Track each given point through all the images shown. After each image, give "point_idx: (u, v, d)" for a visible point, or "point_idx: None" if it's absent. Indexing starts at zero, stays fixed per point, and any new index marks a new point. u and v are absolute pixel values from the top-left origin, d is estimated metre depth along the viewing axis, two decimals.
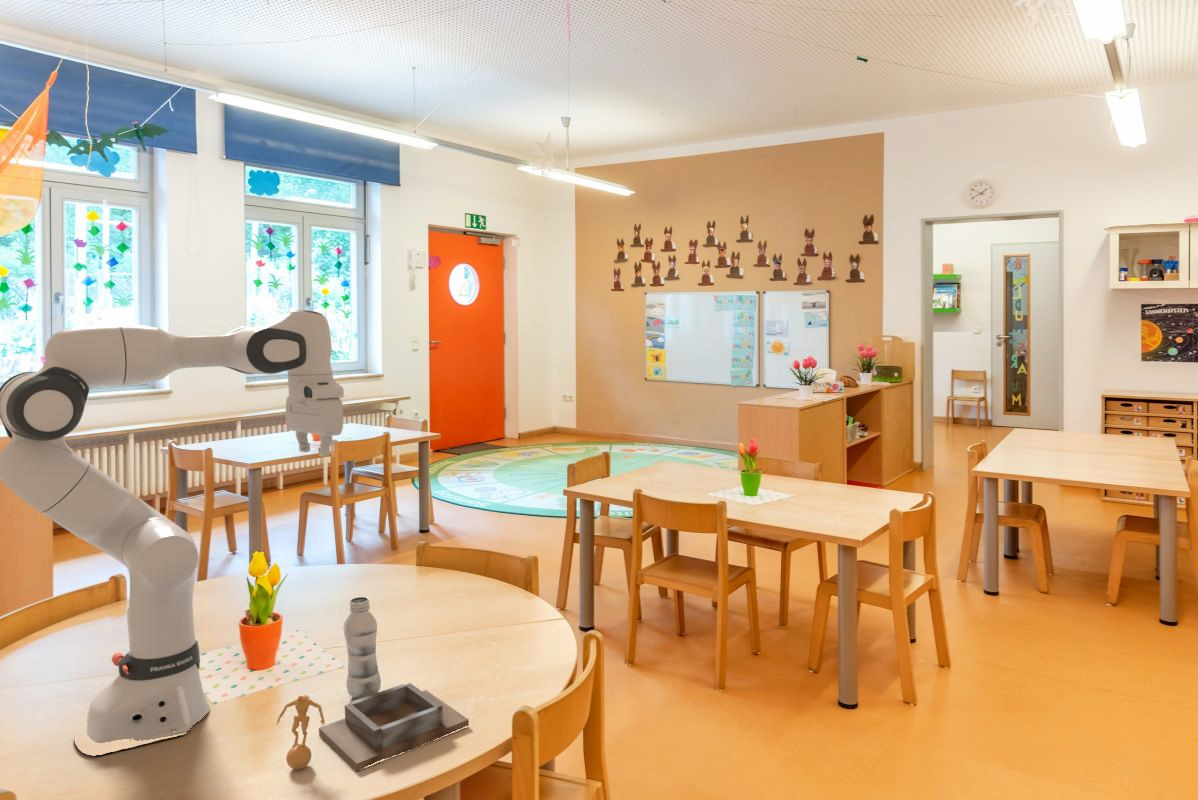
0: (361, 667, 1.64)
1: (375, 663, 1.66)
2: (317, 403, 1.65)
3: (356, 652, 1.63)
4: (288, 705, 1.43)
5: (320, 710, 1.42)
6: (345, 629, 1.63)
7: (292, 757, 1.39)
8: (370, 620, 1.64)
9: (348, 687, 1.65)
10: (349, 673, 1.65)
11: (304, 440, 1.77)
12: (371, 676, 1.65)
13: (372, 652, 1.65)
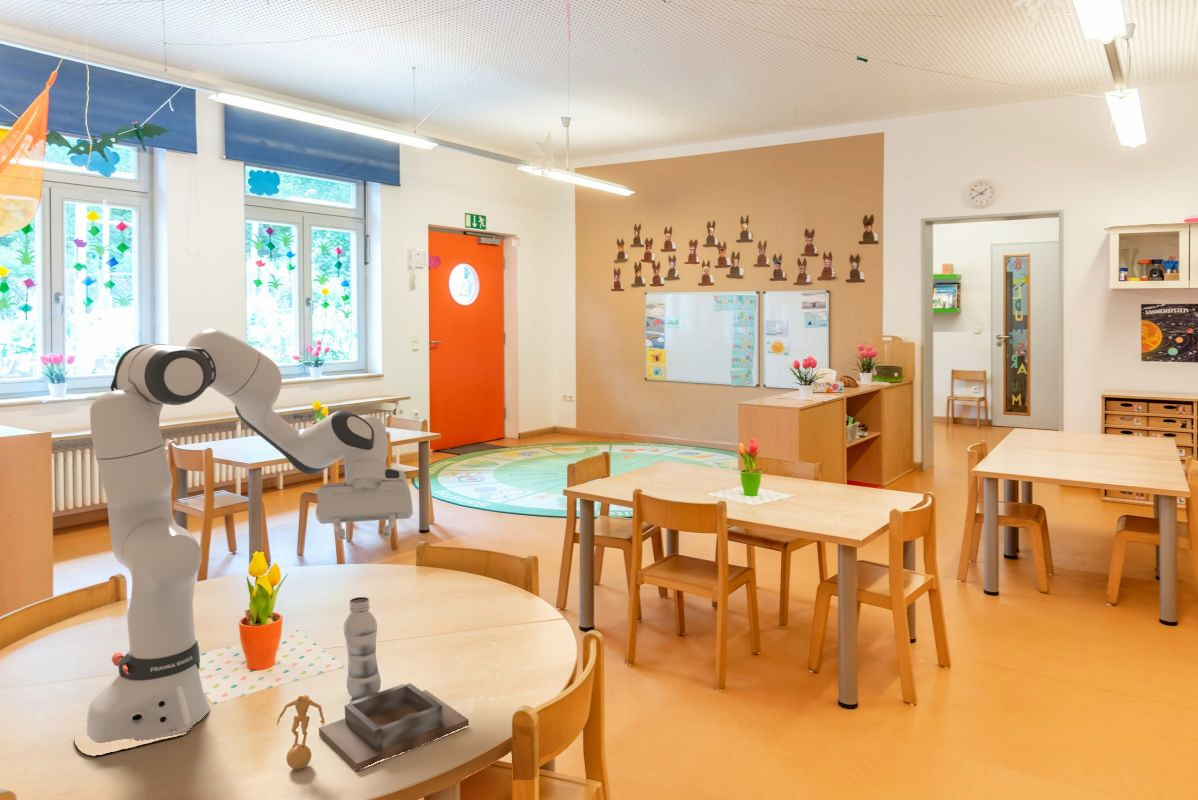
0: (361, 667, 1.64)
1: (375, 663, 1.66)
2: (403, 483, 1.82)
3: (356, 652, 1.63)
4: (288, 705, 1.43)
5: (320, 710, 1.42)
6: (345, 629, 1.63)
7: (292, 757, 1.39)
8: (370, 620, 1.64)
9: (348, 687, 1.65)
10: (349, 673, 1.65)
11: None
12: (371, 676, 1.65)
13: (372, 652, 1.65)
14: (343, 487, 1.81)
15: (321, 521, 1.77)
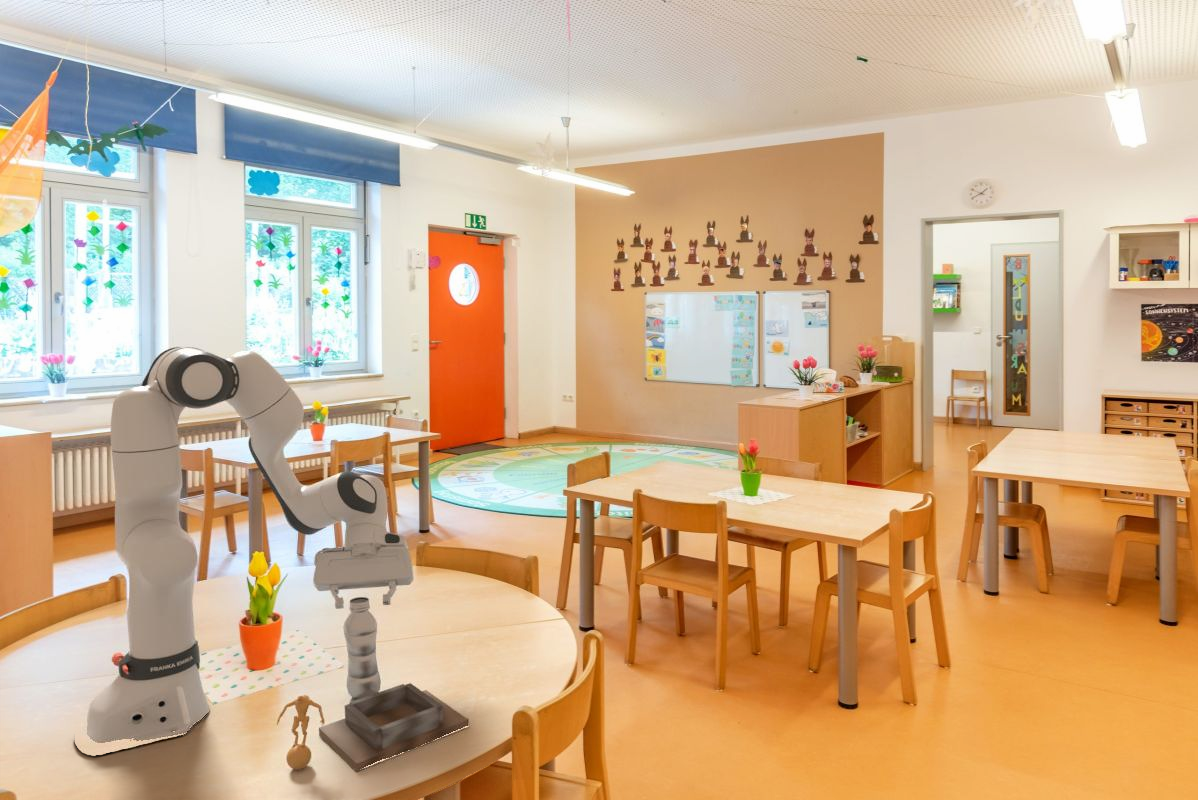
0: (361, 667, 1.64)
1: (375, 663, 1.66)
2: (404, 548, 1.77)
3: (356, 652, 1.63)
4: (288, 705, 1.43)
5: (320, 710, 1.42)
6: (345, 629, 1.63)
7: (292, 757, 1.39)
8: (370, 620, 1.64)
9: (348, 687, 1.65)
10: (349, 673, 1.65)
11: None
12: (371, 676, 1.65)
13: (372, 652, 1.65)
14: (342, 552, 1.75)
15: (319, 589, 1.72)
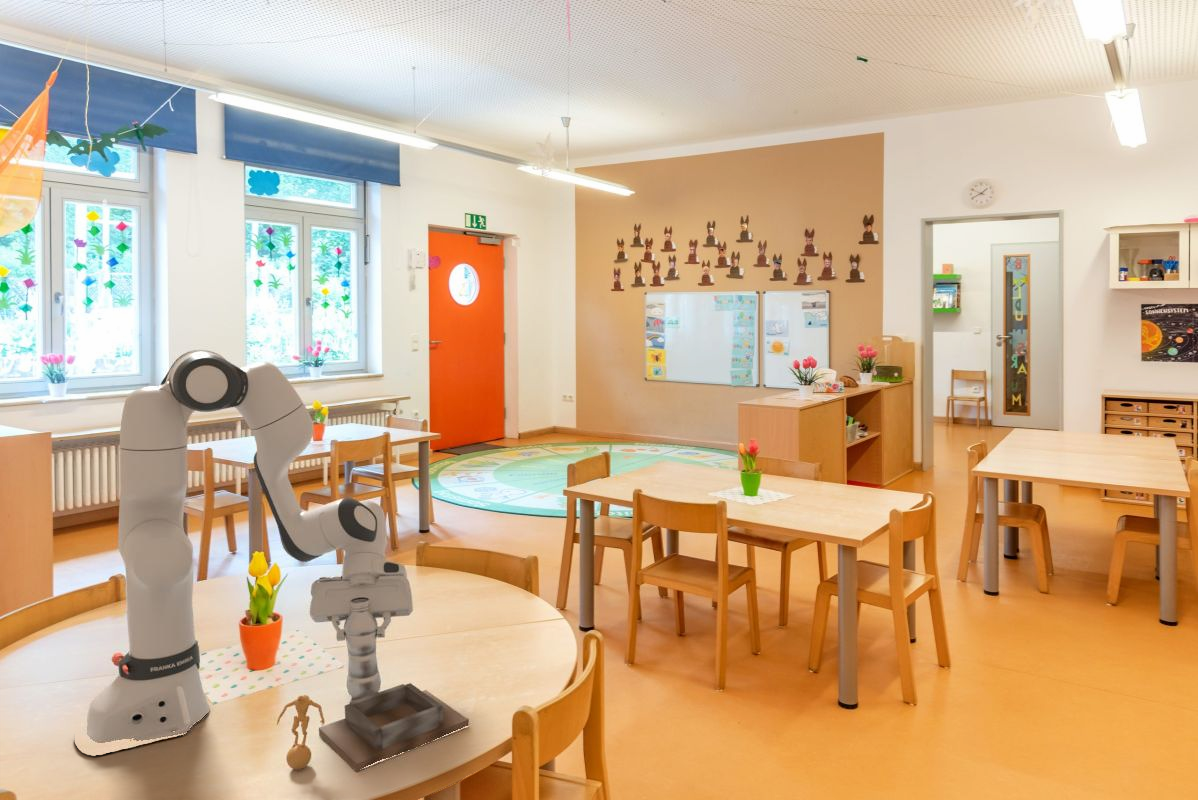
0: (361, 667, 1.64)
1: (375, 663, 1.66)
2: (403, 577, 1.71)
3: (356, 652, 1.63)
4: (288, 705, 1.43)
5: (320, 710, 1.42)
6: (345, 629, 1.63)
7: (292, 757, 1.39)
8: (370, 620, 1.64)
9: (348, 687, 1.65)
10: (349, 673, 1.65)
11: None
12: (371, 676, 1.65)
13: (372, 652, 1.65)
14: (339, 582, 1.70)
15: (315, 620, 1.67)
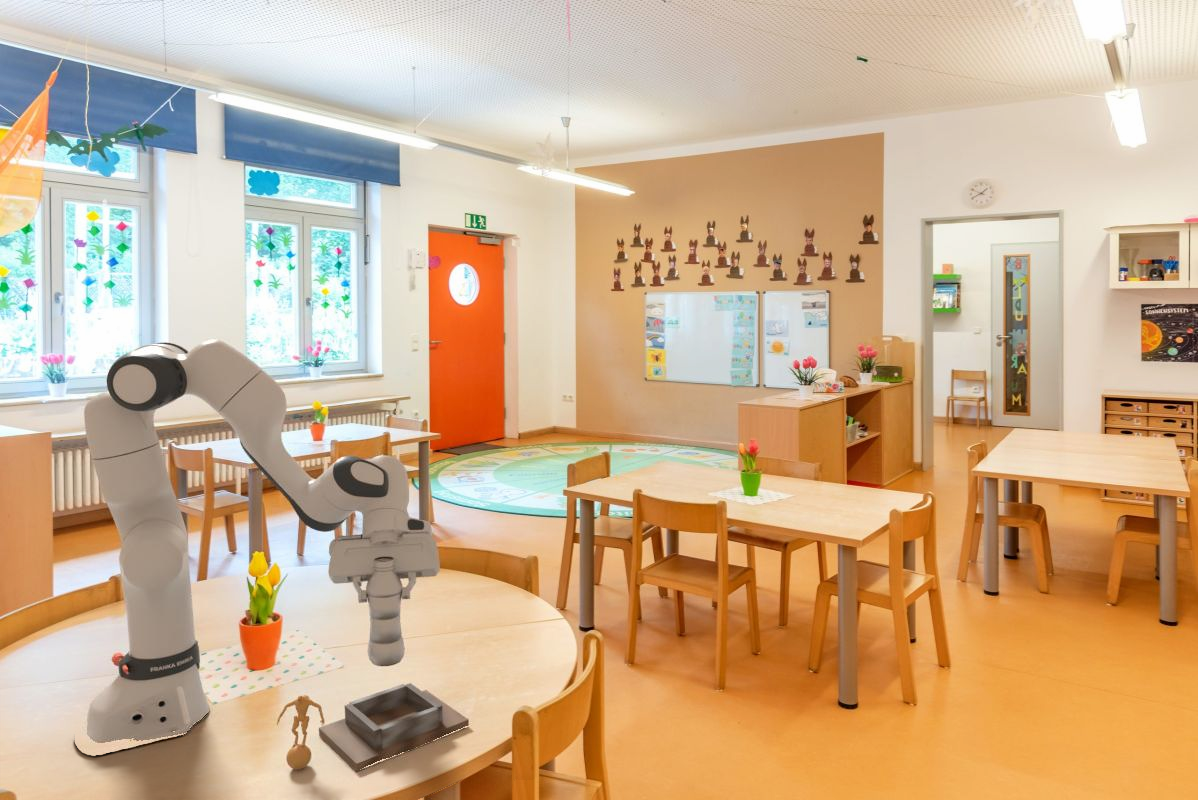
0: (384, 632, 1.51)
1: (399, 628, 1.53)
2: (429, 535, 1.58)
3: (379, 615, 1.50)
4: (288, 705, 1.43)
5: (320, 710, 1.42)
6: (368, 590, 1.50)
7: (292, 757, 1.39)
8: (395, 581, 1.51)
9: (370, 653, 1.52)
10: (371, 638, 1.52)
11: None
12: (394, 642, 1.52)
13: (397, 616, 1.52)
14: (359, 541, 1.57)
15: (335, 581, 1.54)
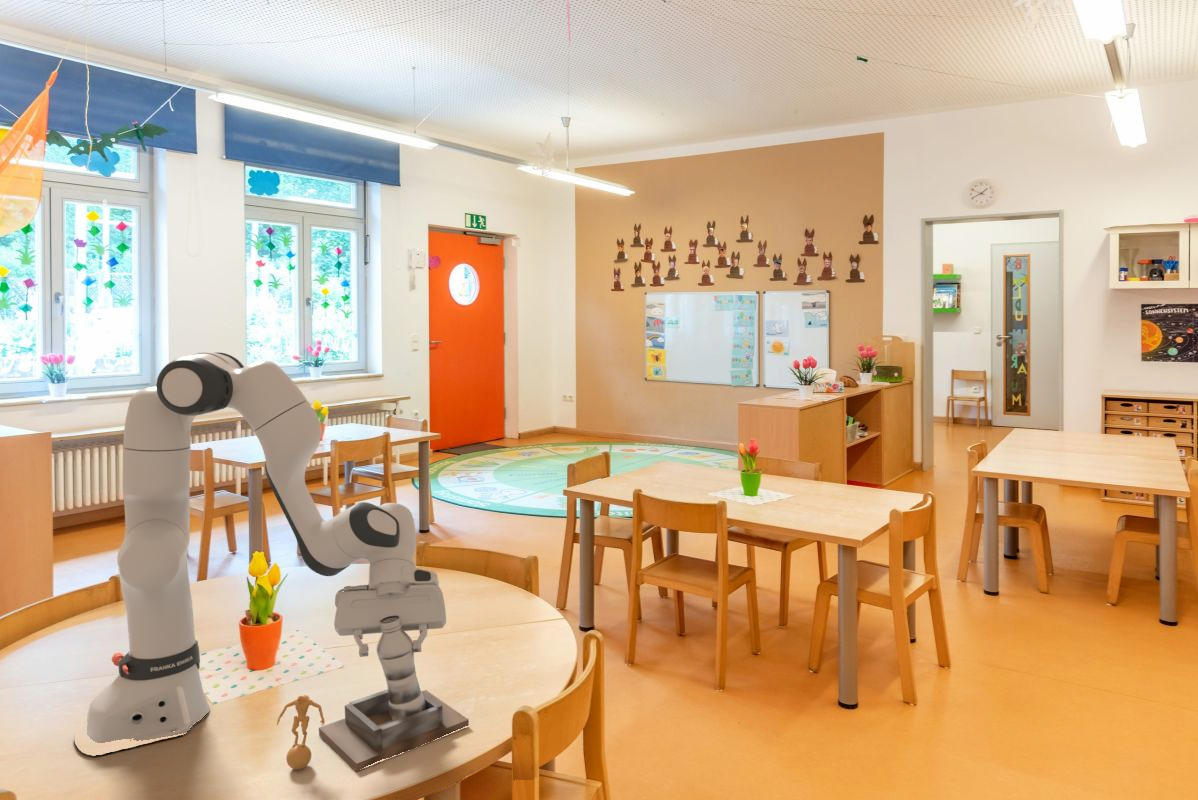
0: (402, 691, 1.50)
1: (417, 684, 1.52)
2: (435, 586, 1.57)
3: (394, 676, 1.49)
4: (288, 705, 1.43)
5: (320, 710, 1.42)
6: (379, 653, 1.49)
7: (292, 757, 1.39)
8: (405, 639, 1.50)
9: (391, 714, 1.51)
10: (390, 699, 1.51)
11: None
12: (414, 699, 1.51)
13: (412, 673, 1.51)
14: (366, 592, 1.55)
15: (340, 633, 1.52)
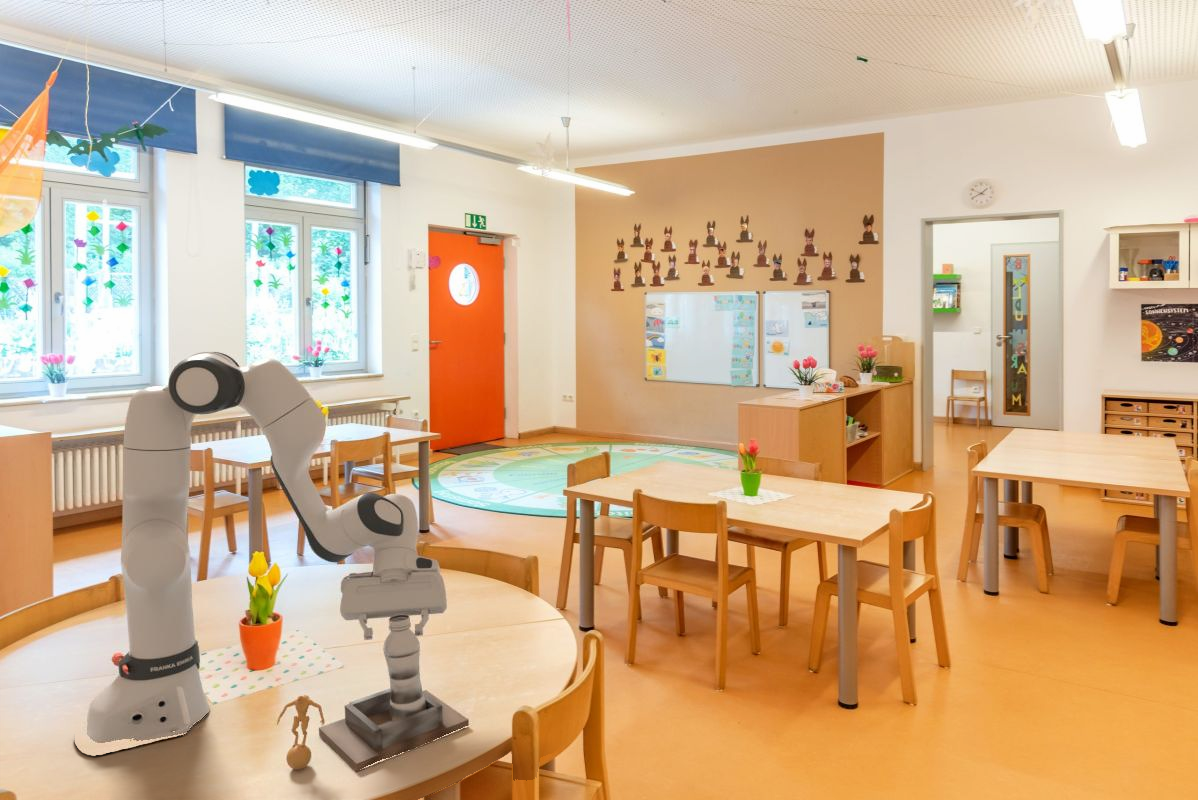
0: (405, 691, 1.50)
1: (420, 685, 1.52)
2: (436, 573, 1.64)
3: (399, 675, 1.50)
4: (288, 705, 1.43)
5: (320, 710, 1.42)
6: (386, 651, 1.49)
7: (292, 757, 1.39)
8: (412, 639, 1.50)
9: (392, 714, 1.51)
10: (392, 698, 1.51)
11: None
12: (416, 700, 1.51)
13: (416, 674, 1.51)
14: (370, 578, 1.63)
15: (346, 618, 1.60)
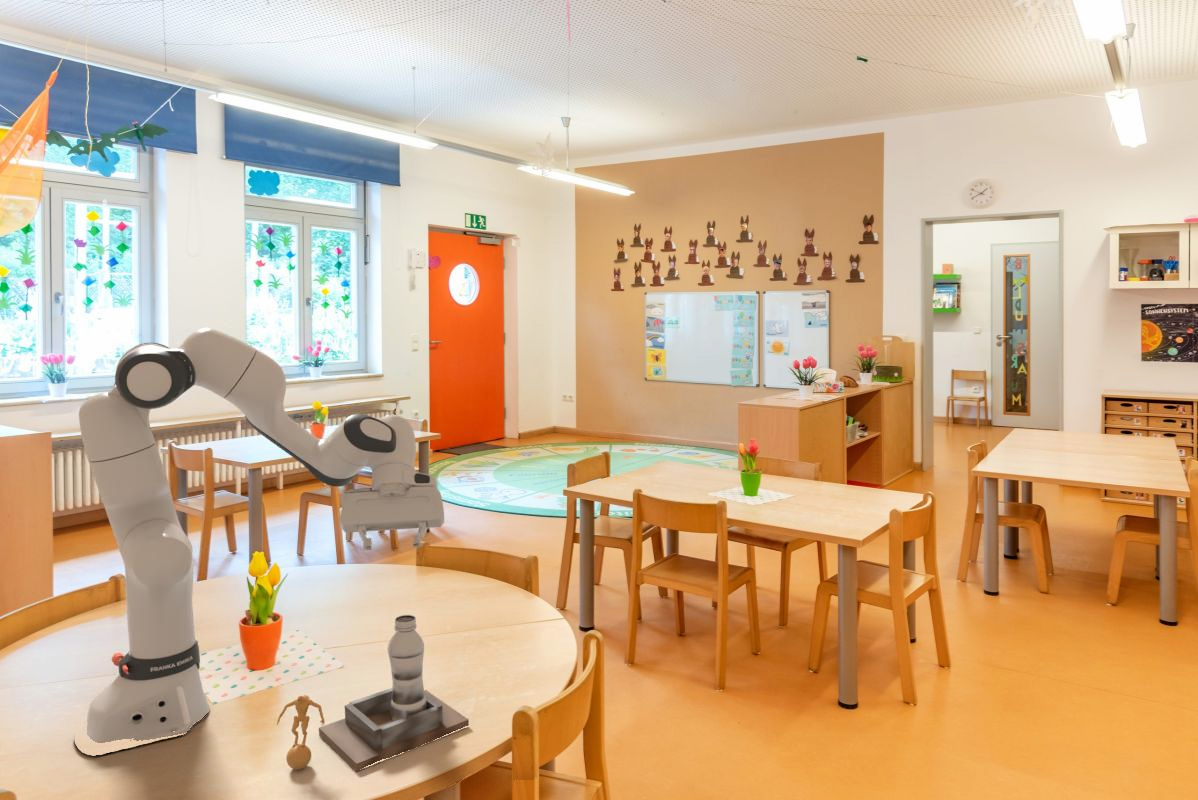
0: (408, 692, 1.50)
1: (422, 687, 1.52)
2: (434, 488, 1.68)
3: (402, 676, 1.49)
4: (288, 705, 1.43)
5: (320, 710, 1.42)
6: (390, 651, 1.49)
7: (292, 757, 1.39)
8: (417, 640, 1.50)
9: (393, 714, 1.51)
10: (394, 698, 1.51)
11: None
12: (418, 702, 1.51)
13: (419, 675, 1.51)
14: (369, 493, 1.66)
15: (345, 530, 1.63)
